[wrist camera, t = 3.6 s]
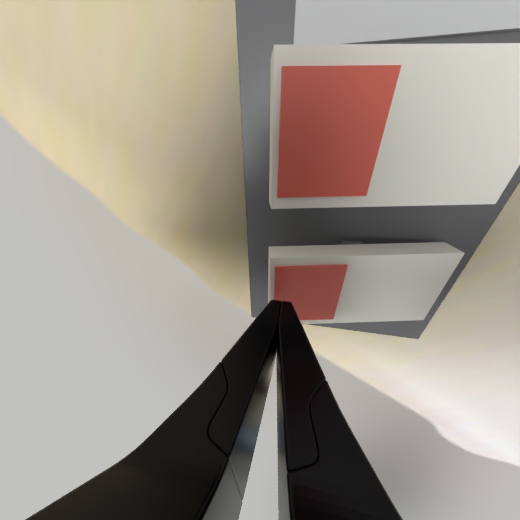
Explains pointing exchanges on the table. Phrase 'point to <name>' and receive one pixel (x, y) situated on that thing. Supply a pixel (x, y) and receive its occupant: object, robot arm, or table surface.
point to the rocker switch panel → (355, 218)
